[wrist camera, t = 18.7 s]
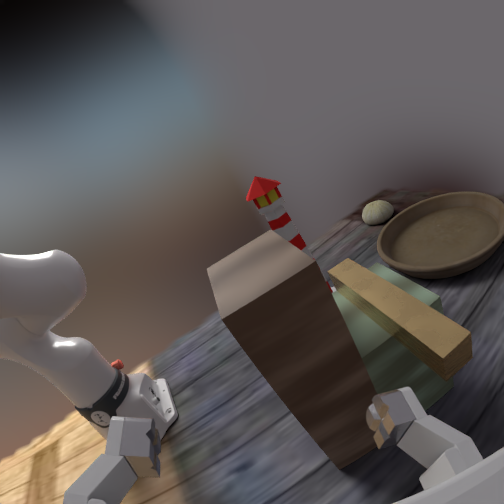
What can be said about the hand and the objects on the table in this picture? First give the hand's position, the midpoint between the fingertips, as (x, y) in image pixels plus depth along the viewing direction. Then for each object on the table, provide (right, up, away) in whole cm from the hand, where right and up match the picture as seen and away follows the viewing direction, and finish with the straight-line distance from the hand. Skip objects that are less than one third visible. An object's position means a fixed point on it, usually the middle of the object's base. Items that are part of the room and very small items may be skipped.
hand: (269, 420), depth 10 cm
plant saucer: (+41, +8, +49) cm, 65 cm away
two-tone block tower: (+17, -15, +28) cm, 35 cm away
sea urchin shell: (+35, +15, +75) cm, 84 cm away
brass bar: (+13, -1, +19) cm, 23 cm away
